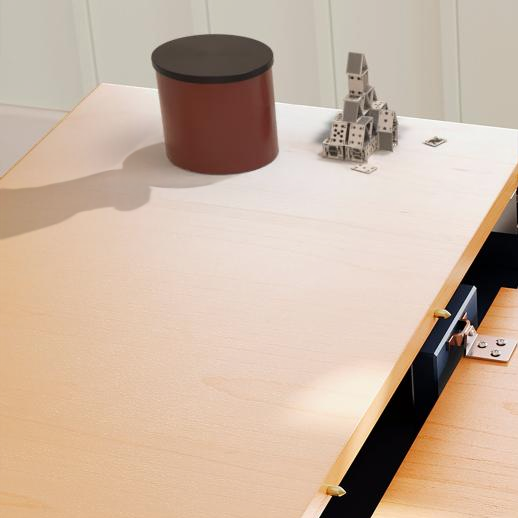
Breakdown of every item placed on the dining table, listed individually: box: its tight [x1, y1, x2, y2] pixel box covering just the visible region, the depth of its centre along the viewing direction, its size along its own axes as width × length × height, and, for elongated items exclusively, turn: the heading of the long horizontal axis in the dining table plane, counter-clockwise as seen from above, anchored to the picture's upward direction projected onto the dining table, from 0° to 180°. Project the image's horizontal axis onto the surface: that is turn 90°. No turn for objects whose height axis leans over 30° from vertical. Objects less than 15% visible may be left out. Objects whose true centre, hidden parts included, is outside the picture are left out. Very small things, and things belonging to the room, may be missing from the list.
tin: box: [150, 33, 280, 176], centre depth 124 cm, size 9×9×8 cm
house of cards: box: [322, 51, 448, 174], centre depth 126 cm, size 9×9×8 cm
